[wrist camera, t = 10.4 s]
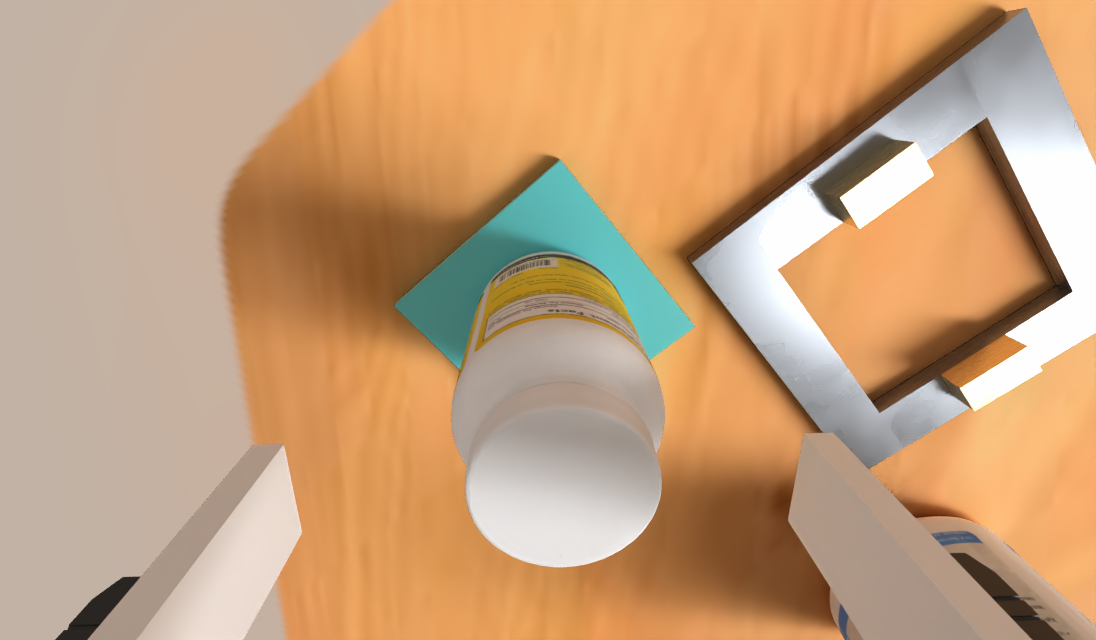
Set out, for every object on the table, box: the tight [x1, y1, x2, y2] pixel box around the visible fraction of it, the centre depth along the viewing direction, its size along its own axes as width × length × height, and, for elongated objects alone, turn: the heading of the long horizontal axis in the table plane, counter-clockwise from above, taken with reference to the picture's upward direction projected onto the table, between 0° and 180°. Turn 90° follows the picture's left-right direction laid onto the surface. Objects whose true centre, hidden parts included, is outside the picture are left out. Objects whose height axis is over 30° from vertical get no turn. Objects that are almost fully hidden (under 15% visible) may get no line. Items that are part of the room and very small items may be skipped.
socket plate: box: [687, 8, 1096, 469], centre depth 22 cm, size 14×14×2 cm
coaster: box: [394, 159, 695, 370], centre depth 23 cm, size 9×9×1 cm
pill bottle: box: [451, 251, 665, 567], centre depth 18 cm, size 6×6×11 cm
